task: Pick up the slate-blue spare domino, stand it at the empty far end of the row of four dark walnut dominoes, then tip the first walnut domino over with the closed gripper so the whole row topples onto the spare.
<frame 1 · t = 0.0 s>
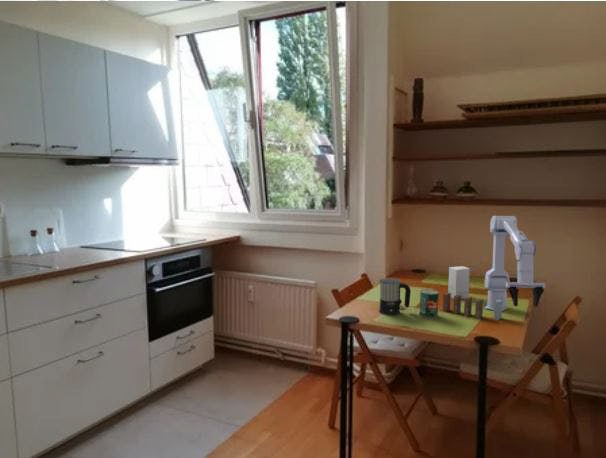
hand: (525, 306, 179), 11 cm above the table, tool pointing down, fingers open, 7 cm apart
domino 4: (478, 317, 198), on the table
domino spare: (497, 318, 197), on the table
domino 2: (456, 312, 205), on the table
skincare box: (458, 297, 230), on the table
milk frother: (390, 310, 209), on the table
canned tomato: (428, 316, 200), on the table
domino 3: (467, 315, 201), on the table
domino 1: (446, 310, 208), on the table
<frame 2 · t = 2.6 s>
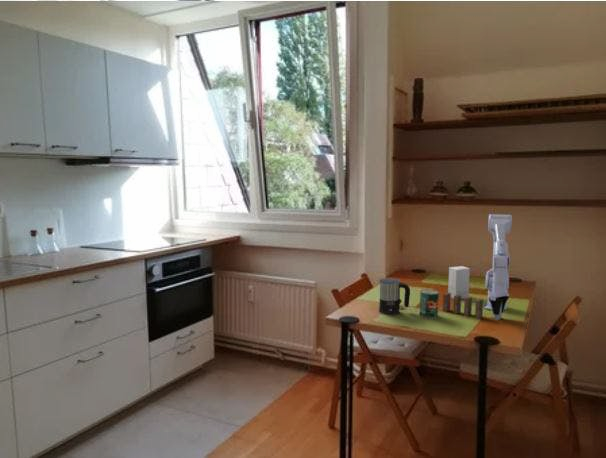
hand: (498, 313, 196), 2 cm above the table, tool pointing down, fingers closed on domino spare, 4 cm apart
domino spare: (497, 318, 197), on the table, touching gripper
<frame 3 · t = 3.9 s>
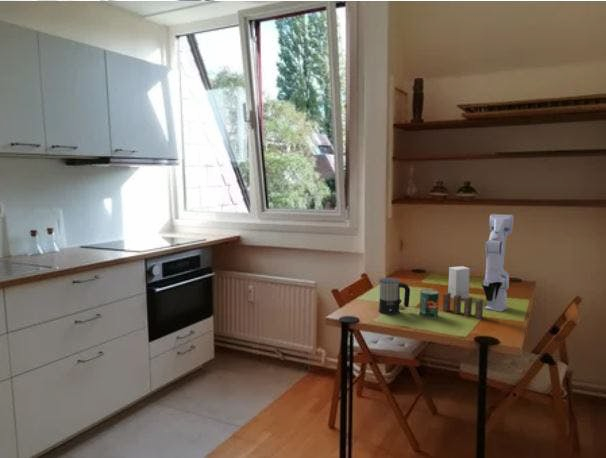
hand: (491, 299, 193), 9 cm above the table, tool pointing down, fingers closed on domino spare, 4 cm apart
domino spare: (491, 305, 194), point 7 cm above the table, touching gripper
everything else where it was.
when the fingers open (3 cm above the table, at t = 5.3 s): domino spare stays where it is, on the table.
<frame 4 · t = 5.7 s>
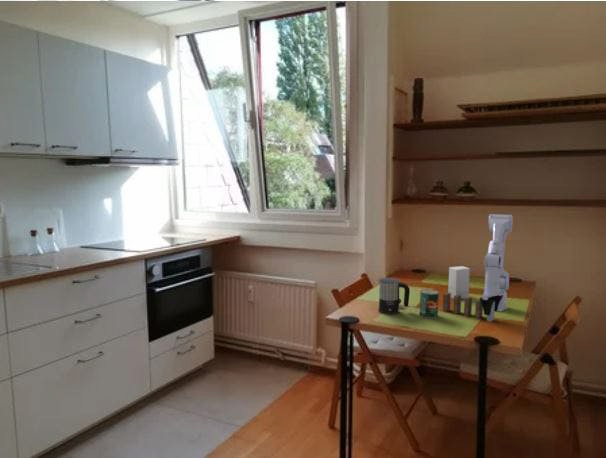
hand: (490, 313, 194), 3 cm above the table, tool pointing down, fingers open, 7 cm apart
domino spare: (490, 320, 194), on the table
everything else where it was.
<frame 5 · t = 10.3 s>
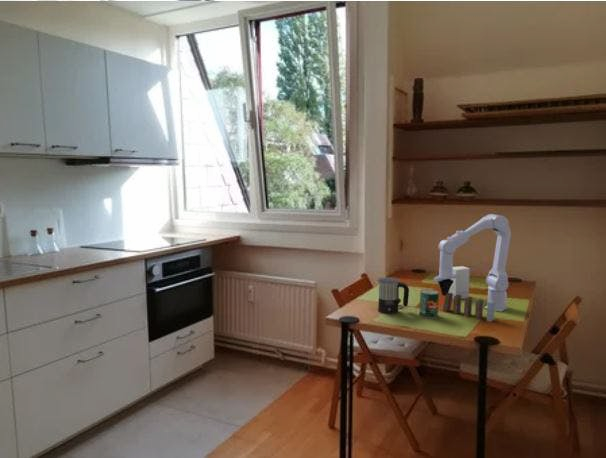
hand: (444, 295, 208), 7 cm above the table, tool pointing down, fingers closed
domino 1: (446, 310, 208), on the table, tilted 8°
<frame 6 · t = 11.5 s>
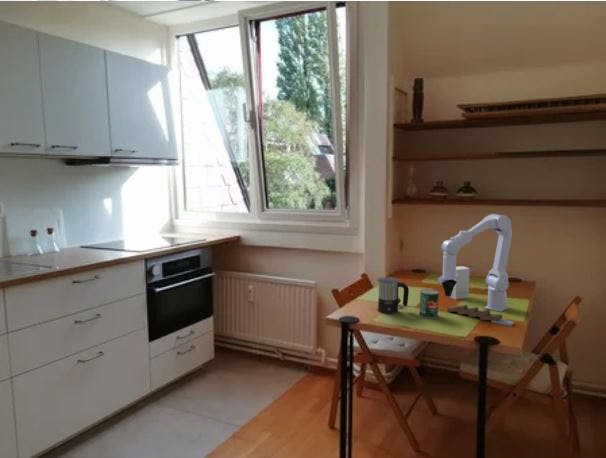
hand: (448, 296, 207), 7 cm above the table, tool pointing down, fingers closed
domino 4: (481, 316, 197), point 1 cm above the table, tilted 78°, touching domino 3, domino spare
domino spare: (492, 320, 194), on the table, tilted 90°, touching domino 4
domino 2: (459, 311, 204), point 1 cm above the table, tilted 71°, touching domino 1, domino 3
domino 3: (470, 314, 200), point 1 cm above the table, tilted 72°, touching domino 2, domino 4
domino 1: (449, 309, 207), point 1 cm above the table, tilted 71°, touching domino 2
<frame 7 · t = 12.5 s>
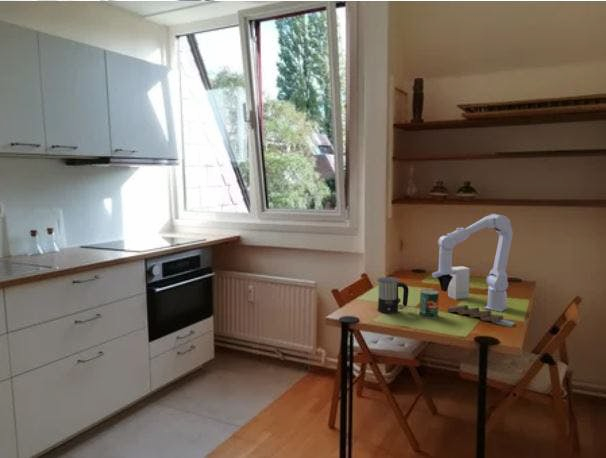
hand: (444, 290, 210), 9 cm above the table, tool pointing down, fingers closed
domino 4: (483, 317, 196), point 1 cm above the table, tilted 78°, touching domino 3, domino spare
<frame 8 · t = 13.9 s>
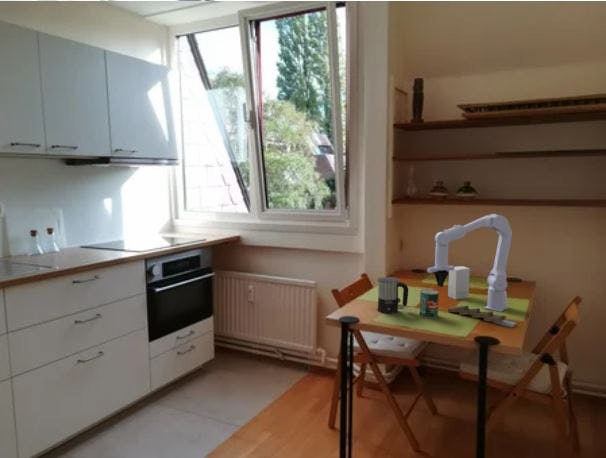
hand: (440, 286, 213), 10 cm above the table, tool pointing down, fingers closed
domino 4: (486, 318, 194), point 1 cm above the table, tilted 75°
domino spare: (494, 321, 193), on the table, tilted 90°
domino 3: (474, 314, 199), point 1 cm above the table, tilted 74°, touching domino 2
at the end: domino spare tilted 90°; domino 1 tilted 72°; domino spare inside the target area (0.8 cm from its centre), on the table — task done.
